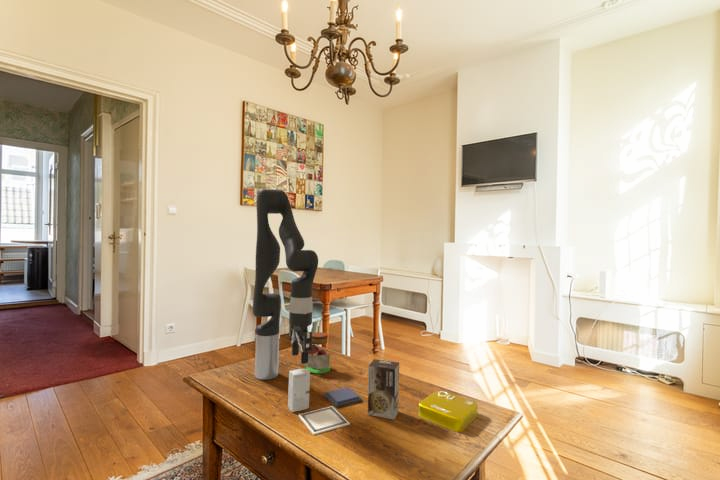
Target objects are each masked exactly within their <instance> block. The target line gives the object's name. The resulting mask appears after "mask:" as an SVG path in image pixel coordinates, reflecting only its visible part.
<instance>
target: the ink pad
mask: <svg viewBox="0 0 720 480" xmlns="http://www.w3.org/2000/svg"><path fill="white" fill-rule="evenodd" d="M323 396H324V398H326V399H327V400H328V402H330V403H331V404H332V406H333V407H334V408H335V409H338V408H340V407H344V406H349V405H352V404H357V403H361V402H363V398H362V397H361V396H359V394H357V393H356V392H355V391H354V390H352V389H351V388H350V387H342V388H338V389H334V390H329V391H326V392H323Z"/></svg>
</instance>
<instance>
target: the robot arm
mask: <svg viewBox="0 0 720 480" xmlns="http://www.w3.org/2000/svg"><path fill="white" fill-rule="evenodd" d="M293 213H294V212H293V210H292V207H291V203H290V200H289V197H288V195H287V193H286V192H285V191H284V190H281V189H267V188H262V189H259V190H258V192H257V194H256V226H257V227H256V230H257V231H256V243H255V244H256V246H255V273H254V274H255V278H254V287H253V288H254V289H253V297H252V298H253V301H252V312H253V313H252V314H253V316H254V317H255V318H263V317H264V318H266V317H270V319H268V320H266V321H265V322H263V323H260V324H257V326H255V327H256V328H255V351H254V352H255V355H254V356H255V357H254V378H256V379H257V380H262V381H263V380H271V379H275V378H276V377H278V376H279V361H280V359H279V355H280V322H281V321H280V320H281V319H280V318H281V308H282V307H281V306H282V299H281V298H282V297H281V295H280V294H279V293H277V292H276V293H271V292H270V293H263V292H264V289H265V287H266V285H267V283H268V281H269V280H270V278H271V277H272V275H273V274H274V273H275V272H276V270H277V268H278V267H279V265H280V259H281V245H280V243H279V241H278V240H277V237H276V235H275V234H274V233H273V231H272V229H271V226H270V223H269V214H273V215H274V214H275V215H277V214H280V215H281V217H282V219H281V222H280V225H279V228H278V235H279V238H280V240H281V243H282V245H283V248H284V252H285V264H286V267H287V269H288V270H290V271H291V272H302V274H301V276H299V277H296V278H294V279H292V281H291V282H290V298H289V310H288V311H289V317H288V318H289V319H288V323H289V341H290V343H291V344H290V345H291V356H294V357H295V356H298V355H299V354H300V363H301V364H303V365H305V363H308V351H312V345H313V344H312V331H308V327H310V326H311V325H312V324H313V304H314V303H313V283H314V280H315V276H316V273H317V270H318V265H319V257H318V254H317V253H316V251H315V250H311V249H304V247H305V240H304V238H303V236H302V234H301V232H300V230H299V228H298V226H297V223H296V220H295V217H294V214H293ZM300 351H301V352H300Z"/></svg>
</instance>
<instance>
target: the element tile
mask: <svg viewBox="0 0 720 480" xmlns="http://www.w3.org/2000/svg"><path fill="white" fill-rule="evenodd" d="M478 409H479V408H478V403H477V402H476V401H473V400H470V399H468V398H464V397H462V396H459V395H456V394H453V393H450V392H446V391H444V390H440V389H439V390H436V391H434V392H433V393H431V394H430V395H428V396H427V397H425V398H424V399H422V400H420V401H419V402H418V414H417V415H418V417H419V418H421V419H423V420H425V421H428V422H431V423H433V424H435V425H439V427H440V426H441V427H443V428H445V429H448V430H450V431H453V432H456V433H461V432H464V430H466V429H467V428H468V427H469V426H470V425H471V424H472V423H473V422H474V421H475V420H476V419H477V418H478V411H479V410H478ZM476 417H477V418H476ZM475 418H476V419H475ZM474 419H475V420H474ZM472 421H473V422H472ZM470 423H471V424H470ZM469 424H470V425H469Z"/></svg>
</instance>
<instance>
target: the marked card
mask: <svg viewBox="0 0 720 480" xmlns="http://www.w3.org/2000/svg"><path fill="white" fill-rule="evenodd" d="M297 416H298V418H299V419H300V420H301V422H302V423H303V424H304V425H305V427H306V428H307V429H308V431H309V432H310V433H311V434H312V435H313V436H314V435H315V436H316V435H318V434H322V433H325V432H328V431H332V430H336V429H338V428H343V427H346V426H348V425H351V423H350V422H349V421H348V420H347V418H345V417H344V415H342V414H341V413H340V411H338V409H337V408H336V407H335V406H334V405H331V406H327V407H323V408H319V409H316V410H315V409H314V410H312V411H307V412H304V413H299V414H298V415H297Z"/></svg>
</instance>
